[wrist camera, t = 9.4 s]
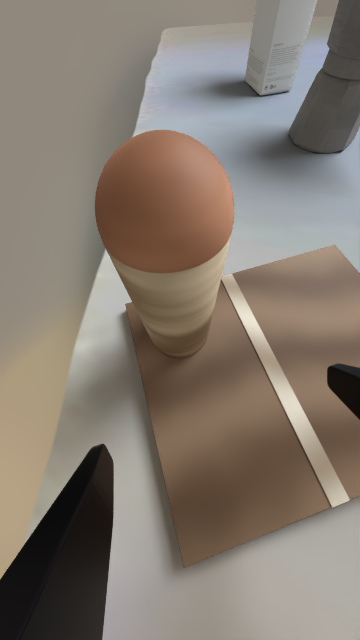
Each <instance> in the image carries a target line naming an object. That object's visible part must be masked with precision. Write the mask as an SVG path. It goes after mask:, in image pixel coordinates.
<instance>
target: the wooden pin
mask: <svg viewBox="0 0 360 640" xmlns="http://www.w3.org/2000/svg"><path fill="white" fill-rule="evenodd" d="M95 214H96V215H95V216H96V222H97V227H98V231H99V233H100V236H101V239H102V241H103V244H104V246H105V248H106V250H107V252H108V254H109V256H110V258H111V260H112V262H113V264H114V266H115V268H116V270H117V272H118V274H119V276H120V278H121V280H122V282H123V284H124V286H125V288H126V290H127V292H128V294H129V296H130V298H131V300H132V302H133V304H134V306H135V308H136V310H137V312H138V314H139V316H140V318H141V320H142V322H143V324H144V326H145V328H146V330H147V332H148V334H149V336H150V338H151V340H152V342H153V344H154V346H155V347H156V348H157V349H158V350H159V351H160V352H161V353H162V354H164V355H166V356H169V357H172V358H186V357H189V356H191V355H193V354H195V353H197V352H198V351H199V350H200V349H201V348H202V347H203V345H204V344H205V342H206V340H207V336H208V332H209V328H210V323H211V319H212V315H213V311H214V306H215V302H216V298H217V293H218V289H219V285H220V281H221V276H222V272H223V268H224V263H225V259H226V255H227V251H228V246H229V242H230V238H231V233H232V229H233V223H234V199H233V193H232V188H231V185H230V182H229V179H228V177H227V175H226V173H225V171H224V169H223V167H222V165H221V164H220V162H219V161H218V159H217V158H216V157H215V155H214V154H213V153H212V152H211V151H210V150H209V149H208V148H207V147H206V146H204V145H203V144H202V143H200V142H199V141H197V140H195V139H194V138H192V137H190V136H188V135H186V134H183V133H179V132H175V131H170V130H154V131H149V132H145V133H142V134H139V135H137V136H135V137H133V138H131V139H130V140H128V141H127V142H125V143H124V144H122V145H121V146H120V147H119V148H118V149H117V150H116V151H115V152H114V153H113V155H112V156H111V157H110V159H109V160H108V162H107V163H106V165H105V167H104V169H103V171H102V173H101V176H100V178H99V182H98V186H97V190H96V197H95Z"/></svg>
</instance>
